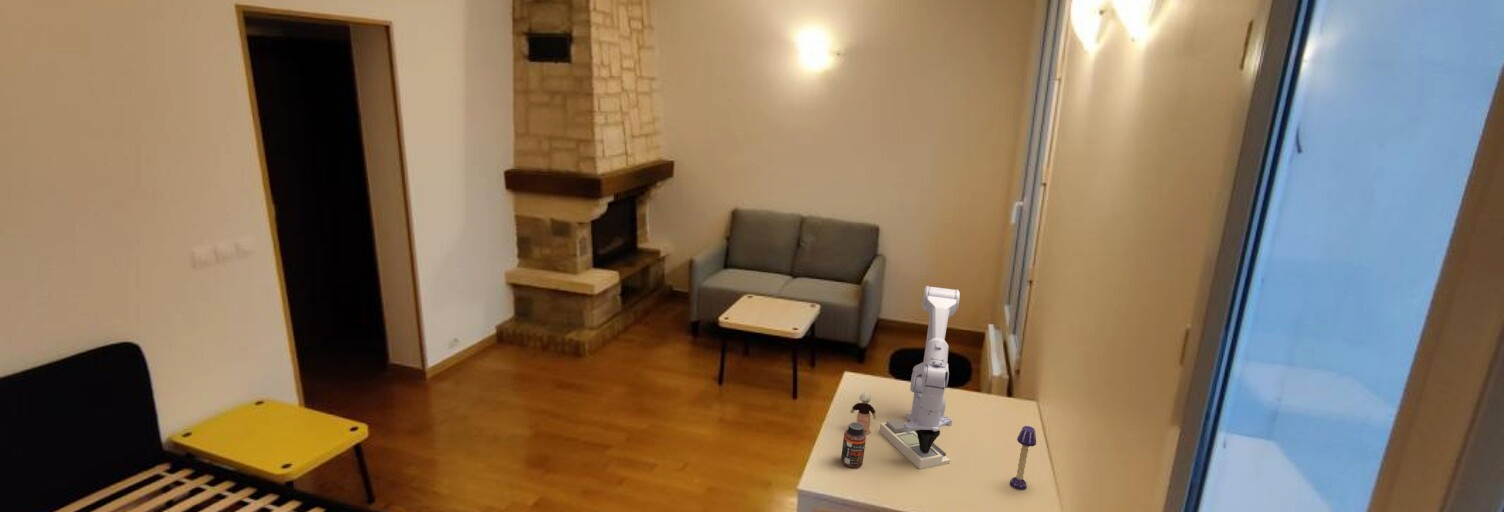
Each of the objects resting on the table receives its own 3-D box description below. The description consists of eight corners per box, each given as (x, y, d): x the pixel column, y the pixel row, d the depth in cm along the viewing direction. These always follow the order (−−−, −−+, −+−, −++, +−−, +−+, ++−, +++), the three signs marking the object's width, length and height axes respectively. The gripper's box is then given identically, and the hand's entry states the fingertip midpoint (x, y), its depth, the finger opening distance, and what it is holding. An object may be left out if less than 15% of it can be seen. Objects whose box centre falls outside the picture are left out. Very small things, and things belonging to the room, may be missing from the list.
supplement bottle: (848, 470, 188) (853, 433, 184) (836, 459, 193) (840, 422, 189) (867, 466, 190) (871, 428, 187) (854, 454, 195) (858, 418, 192)
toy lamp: (1005, 479, 189) (1016, 423, 184) (1022, 479, 189) (1033, 423, 184) (1013, 489, 184) (1024, 433, 179) (1030, 490, 184) (1042, 433, 180)
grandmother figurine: (873, 429, 210) (878, 390, 206) (874, 435, 206) (879, 396, 202) (848, 426, 210) (852, 387, 207) (848, 432, 207) (852, 393, 203)
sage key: (911, 438, 203) (912, 433, 203) (921, 446, 199) (922, 442, 199) (897, 440, 202) (898, 436, 201) (907, 449, 197) (908, 444, 197)
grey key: (899, 423, 209) (900, 418, 208) (909, 431, 205) (909, 426, 204) (886, 425, 207) (886, 421, 207) (895, 433, 203) (895, 429, 202)
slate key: (925, 449, 198) (926, 445, 197) (935, 459, 194) (936, 454, 193) (911, 452, 196) (911, 448, 196) (921, 461, 192) (921, 457, 191)
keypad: (907, 427, 212) (908, 418, 211) (949, 463, 194) (951, 454, 194) (879, 431, 208) (880, 423, 208) (919, 469, 191) (920, 460, 190)
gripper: (916, 417, 184) (910, 463, 188) (961, 410, 190) (954, 455, 194) (901, 405, 191) (895, 449, 194) (945, 398, 196) (938, 441, 200)
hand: (923, 451), depth 194 cm, fingers closed, pressing on slate key
